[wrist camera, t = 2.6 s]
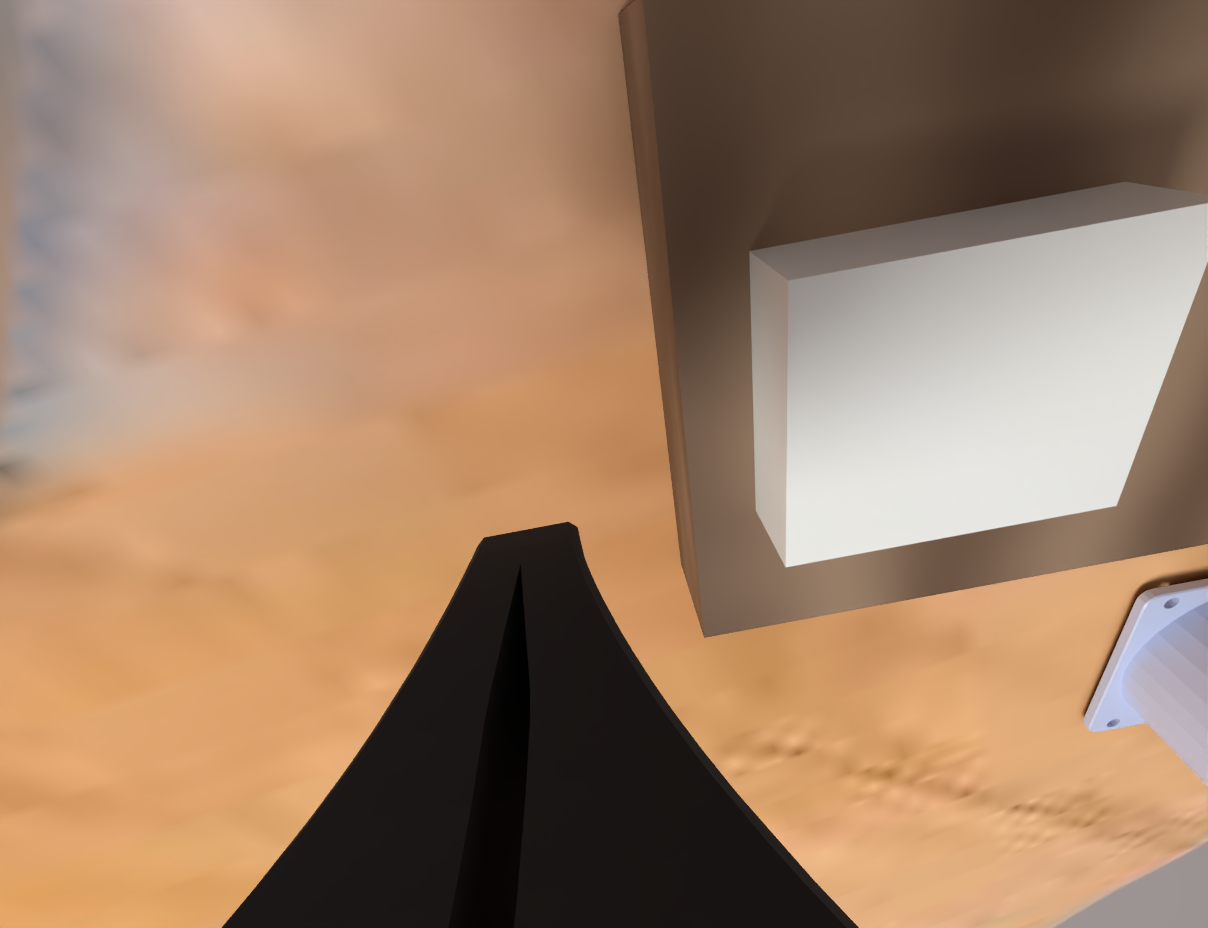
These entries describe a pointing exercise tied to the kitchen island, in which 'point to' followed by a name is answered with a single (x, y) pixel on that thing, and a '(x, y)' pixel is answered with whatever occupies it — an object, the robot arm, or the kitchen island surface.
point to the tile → (964, 365)
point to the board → (885, 197)
